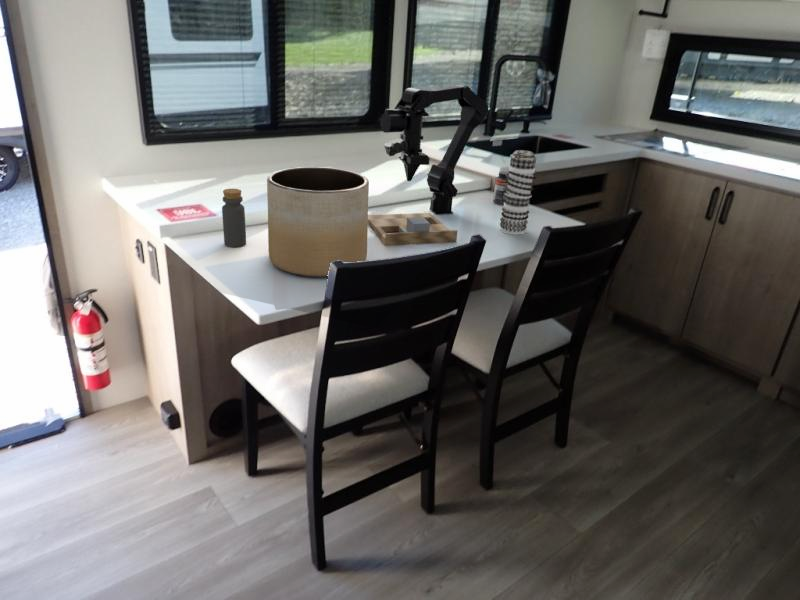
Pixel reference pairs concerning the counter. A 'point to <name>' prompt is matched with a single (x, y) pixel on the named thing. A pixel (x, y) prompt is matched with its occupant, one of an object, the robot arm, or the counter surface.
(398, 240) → the wooden compartment tray
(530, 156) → the decorative candle
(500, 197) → the supplement bottle
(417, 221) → the block
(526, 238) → the counter surface
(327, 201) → the planter
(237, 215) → the bottle
